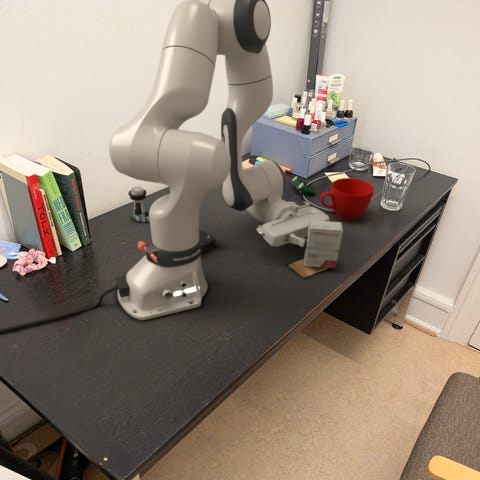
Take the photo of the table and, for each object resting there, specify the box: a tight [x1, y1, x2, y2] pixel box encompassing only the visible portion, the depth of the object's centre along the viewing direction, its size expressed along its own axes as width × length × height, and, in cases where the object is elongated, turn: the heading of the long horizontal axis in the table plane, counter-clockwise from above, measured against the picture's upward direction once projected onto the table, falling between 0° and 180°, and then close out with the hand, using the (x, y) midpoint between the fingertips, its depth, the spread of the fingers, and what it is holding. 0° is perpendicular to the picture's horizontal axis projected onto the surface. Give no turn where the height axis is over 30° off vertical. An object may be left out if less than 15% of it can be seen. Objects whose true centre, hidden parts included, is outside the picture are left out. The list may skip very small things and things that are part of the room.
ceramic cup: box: [319, 177, 375, 221], centre depth 141 cm, size 13×17×10 cm
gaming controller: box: [291, 175, 315, 196], centre depth 157 cm, size 9×4×6 cm
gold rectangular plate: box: [287, 258, 338, 279], centre depth 123 cm, size 12×7×1 cm, turn 124°
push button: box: [128, 186, 150, 223], centre depth 136 cm, size 7×5×10 cm
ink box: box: [303, 220, 344, 269], centre depth 118 cm, size 9×5×12 cm, turn 84°
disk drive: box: [199, 228, 217, 253], centre depth 129 cm, size 10×3×15 cm
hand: (314, 240), depth 118 cm, fingers closed on ink box, 5 cm apart
